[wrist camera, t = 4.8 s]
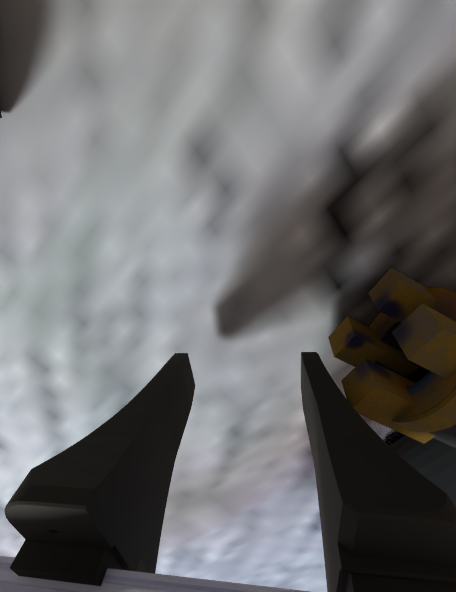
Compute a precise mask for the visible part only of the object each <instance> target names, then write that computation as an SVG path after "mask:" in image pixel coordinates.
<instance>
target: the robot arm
mask: <svg viewBox="0 0 456 592" xmlns="http://www.w3.org/2000/svg"><path fill="white" fill-rule="evenodd" d="M194 390H195V383H194V378H193V374H192V370H191V365H190V361H189V357H188V353H175V354H174V355H173V356H172V357H171V358H170V359H169V361H168V362H167V363H166V364H165V365H164V366H163V367H162V369H161V370H160V371H159V372H158V373H157V374H156V375H155V376H154V378H153V379H152V380H151V381H150V382H149V383H148V384H147V385H146V386H145V387H144V388H143V389H142V390H141V391H140V392H139V393H138V394H137V395H136V396H135V397H134V398H133V399H132V400H131V401H130V402H129V403H128V404H127V405H126V406H125V407H124V408H122V409H121V410H120V411H119V412H118V413H117V414H115V415H114V416H113V417H112V418H110V419H109V420H108V421H107V422H105V423H104V424H103V425H101V426H100V427H99V428H97V429H96V430H95V431H93V432H92V433H90V434H89V435H88V436H86V437H85V438H83V439H82V440H80V441H79V442H77V443H76V444H74V445H73V446H71V447H69V448H68V449H66V450H65V451H63V452H61V453H60V454H58V455H56V456H54V457H53V458H51V459H49V460H47V461H45V462H44V463H42V464H40V465H38V466H36V467H35V468H33V469H31V471H30V472H29V473H28V475H27V476H26V478H25V479H24V481H23V482H22V483H21V485H20V486H19V488H18V489H17V491H16V492H15V494H14V495H13V497H12V498H11V499H10V501H9V502H8V504H7V505H6V507H5V515H6V518H7V519H8V521H9V522H10V523H11V524H12V525H13V526H14V528H15V529H16V530H17V531H18V532H19V533H20V534H21V535H22V536H23V537H24V538H25V539H26V540H25V542H24V544H23V545H22V547H21V549H20V551H19V552H18V554H17V556H16V557H6V556H0V592H309V591H300V590H292V589H283V588H274V587H266V586H257V585H248V584H240V583H231V582H223V581H214V580H205V579H197V578H188V577H179V576H171V575H162V574H155V570H156V563H157V556H158V550H159V543H160V536H161V531H162V525H163V519H164V513H165V507H166V502H167V497H168V492H169V486H170V482H171V477H172V472H173V467H174V463H175V459H176V455H177V452H178V449H179V445H180V442H181V439H182V436H183V433H184V429H185V426H186V423H187V420H188V416H189V413H190V410H191V406H192V401H193V396H194ZM301 392H302V402H303V411H304V416H305V421H306V426H307V431H308V435H309V440H310V445H311V450H312V455H313V460H314V466H315V473H316V482H317V491H318V500H319V510H320V519H321V529H322V538H323V548H324V558H325V569H326V579H327V590H328V592H456V506H455V505H454V503H453V502H452V500H451V498H450V497H449V495H448V494H447V493H445V492H444V491H443V490H441V489H440V488H439V487H437V486H436V485H435V484H433V483H432V482H431V481H430V480H428V479H427V478H426V477H424V476H423V475H422V474H420V473H419V472H418V471H417V470H416V469H414V468H413V467H412V466H411V465H410V464H409V463H407V462H406V461H405V460H404V459H403V458H402V457H401V456H399V455H398V454H397V453H396V452H395V451H394V450H393V449H392V448H391V447H390V446H389V445H388V444H387V443H386V442H385V441H383V440H382V439H381V438H380V437H379V436H378V435H377V434H376V433H375V432H374V430H373V429H372V428H371V427H370V426H369V425H368V424H367V423H366V422H365V421H364V420H363V419H362V417H361V416H360V415H359V414H358V413H357V412H356V410H355V409H354V408H353V407H352V405H351V404H350V403H349V402H348V400H347V399H346V398H345V396H344V395H343V394H342V392H341V391H340V389H339V388H338V387H337V385H336V384H335V382H334V381H333V379H332V378H331V376H330V375H329V373H328V371H327V370H326V368H325V366H324V364H323V363H322V361H321V359H320V357H319V354H318V353H316V352H301Z"/></svg>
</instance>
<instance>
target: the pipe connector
mask: <svg viewBox="0 0 456 592" xmlns="http://www.w3.org/2000/svg"><path fill="white" fill-rule="evenodd" d="M368 294H369V296H370V297H371V299H372V301H373V302H374V304H375V306H376V307H377V309H378V311H380V312H381V313H380V314H379V315H378V316H377V317H376V318H375V320H374V321H373V322H372V324H371V325H370V327H367V326H365V325H363V324H361V323H359V322H357V321H355V320H353V319H351V318H350V317H348V316H347V317H346V318H345V319H344V320H343V322H342V323H341V324H340V325H339V326H338V327H337V328H336V329H335V330H334V332H333V333H332V334H331V335H330V336H329V341H330V344H331V347H332V351H333V354H334V357H336V358H338V359H340V360H342V361H344V362H346V363H348V364H350V365H352V366H354V367H355V368H354V369H353V370H352V371H351V372H350V373H349V374H348V375H347V376H346V377H345V378H344V379H343V380H341V381H342V384H343V388H344V391H345V395H346V398H347V400H348V402H349V403H350V404H351V405H352V407H353V408H354V409H355V410H356V412H357V413H358V414H360V415H363V416H365V417H367V418H369V419H371V420H374V421H376V422H378V423H380V424H382V425H384V426H387V427H389V428H391V429H393V430H395V431H397V432H400V433H402V434H404V435H405V436H403V437H402V438H400V439H399V440H397V441H396V442H395V443H393V444H392V445H390V447H391V448H392V449H393V450H394V451H395V452H396V453H397V454H398V455H399V456H401V457H402V458H403V459H404V460H405V461H406V462H407V463H409V464H410V465H411V466H412V467H413V468H414V469H416V470H417V471H418V472H419V473H420V474H422V475H423V476H424V477H426V478H427V479H428V480H430V481H431V482H432V483H433V484H435V485H436V486H437V487H439V488H440V489H441V490H443V491H444V492H445V493H447V494H448V495H449V497H450V498H451V500H452V502H453V503H454V505H455V506H456V292H453V291H450V290H447V289H444V288H435V287H430V288H427V287H425V286H423V285H421V284H420V283H418V282H416V281H414V280H412V279H411V278H409V277H407V276H405V275H403V274H402V273H400V272H398V271H396V270H394V269H393V268H390V270H389V271H388V272H387V273H386V274H385V275H384V276H383V277H382V278H381V279H380V281H379V282H378V283H377V284H376V285H375V286H374V287H373V288H372V289H371V291H370V292H369V293H368Z"/></svg>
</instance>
